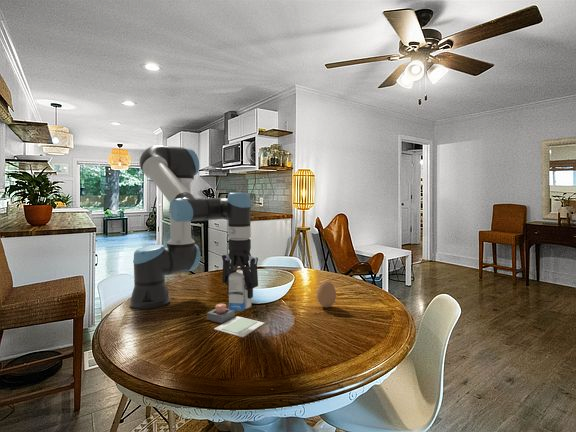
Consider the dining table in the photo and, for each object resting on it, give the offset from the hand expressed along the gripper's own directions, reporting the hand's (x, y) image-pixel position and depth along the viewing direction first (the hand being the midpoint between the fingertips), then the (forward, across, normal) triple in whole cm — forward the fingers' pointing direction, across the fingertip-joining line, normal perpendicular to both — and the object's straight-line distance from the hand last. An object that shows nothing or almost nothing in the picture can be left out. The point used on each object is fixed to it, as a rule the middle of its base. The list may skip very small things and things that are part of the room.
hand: (240, 305), depth 113 cm
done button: (+5, -11, +3) cm, 12 cm away
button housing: (+7, -11, +3) cm, 13 cm away
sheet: (+7, 0, 0) cm, 7 cm away
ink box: (+1, 0, 0) cm, 1 cm away
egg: (+8, +18, +33) cm, 38 cm away
